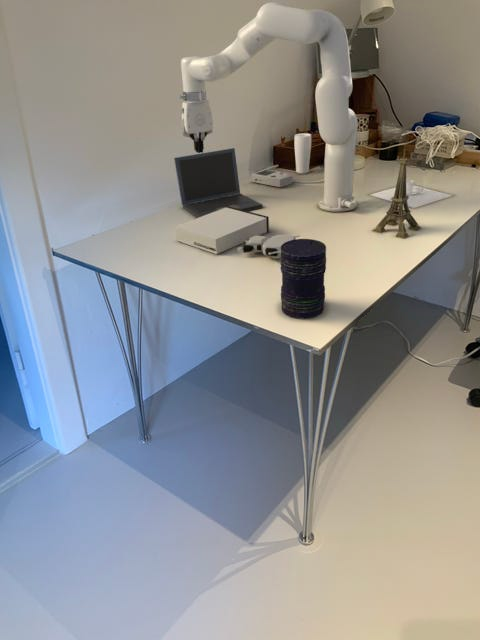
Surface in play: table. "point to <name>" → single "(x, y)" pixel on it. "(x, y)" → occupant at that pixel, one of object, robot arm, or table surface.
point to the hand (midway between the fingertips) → (199, 152)
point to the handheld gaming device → (272, 178)
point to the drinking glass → (302, 152)
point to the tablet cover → (207, 176)
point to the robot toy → (266, 245)
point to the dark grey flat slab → (221, 205)
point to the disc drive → (222, 229)
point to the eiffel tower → (399, 201)
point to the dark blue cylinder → (303, 278)
